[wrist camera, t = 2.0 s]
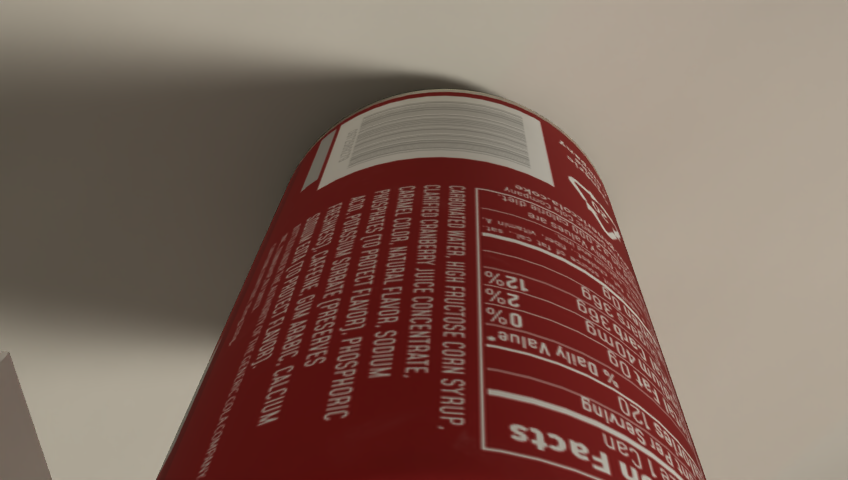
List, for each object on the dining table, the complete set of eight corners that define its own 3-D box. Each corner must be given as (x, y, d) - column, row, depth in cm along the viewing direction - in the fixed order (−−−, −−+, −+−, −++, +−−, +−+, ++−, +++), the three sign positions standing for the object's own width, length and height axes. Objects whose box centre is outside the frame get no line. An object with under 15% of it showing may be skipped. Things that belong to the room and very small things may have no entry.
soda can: (305, 43, 15) (-53, 616, 5) (653, 114, 16) (1042, 792, 5) (270, 331, 18) (16, 1043, 8) (558, 382, 19) (674, 1130, 8)
